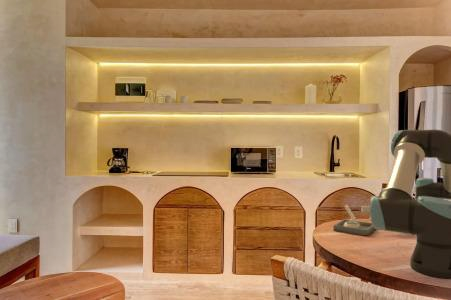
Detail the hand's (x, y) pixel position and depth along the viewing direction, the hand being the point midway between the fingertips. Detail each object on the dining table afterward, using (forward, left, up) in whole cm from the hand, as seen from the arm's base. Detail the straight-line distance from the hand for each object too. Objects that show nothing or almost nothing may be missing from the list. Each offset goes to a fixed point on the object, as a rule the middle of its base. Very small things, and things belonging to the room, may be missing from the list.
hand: (370, 212), depth 164 cm
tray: (-7, +6, -8) cm, 12 cm away
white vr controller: (-4, +7, -7) cm, 11 cm away
